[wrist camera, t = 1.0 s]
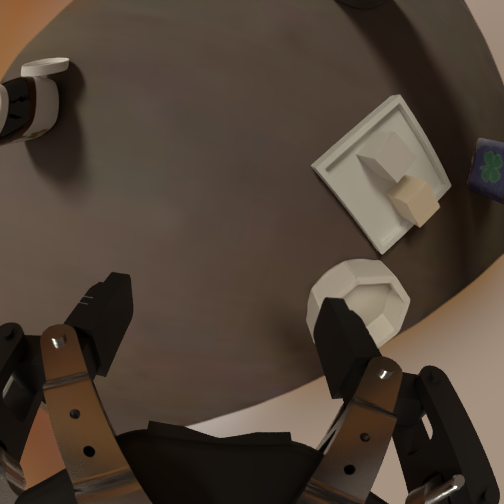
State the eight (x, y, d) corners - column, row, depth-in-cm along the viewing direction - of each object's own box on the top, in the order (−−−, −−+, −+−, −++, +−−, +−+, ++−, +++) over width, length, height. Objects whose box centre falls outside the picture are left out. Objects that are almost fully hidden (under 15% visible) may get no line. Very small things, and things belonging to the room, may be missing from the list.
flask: (475, 135, 29) (524, 145, 19) (484, 141, 29) (531, 153, 20) (464, 187, 33) (511, 208, 23) (474, 192, 33) (519, 213, 23)
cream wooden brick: (405, 174, 31) (427, 181, 26) (418, 196, 32) (440, 207, 27) (385, 193, 32) (406, 203, 27) (399, 215, 33) (419, 227, 28)
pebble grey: (373, 130, 28) (394, 132, 24) (394, 152, 30) (416, 157, 25) (355, 154, 30) (374, 158, 25) (377, 175, 31) (397, 183, 26)
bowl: (363, 238, 35) (381, 255, 30) (403, 295, 40) (419, 314, 35) (287, 302, 39) (294, 326, 34) (338, 347, 43) (348, 369, 38)
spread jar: (21, 146, 27) (-34, 160, 16) (18, 79, 22) (-34, 77, 11) (80, 120, 27) (23, 123, 16) (78, 46, 22) (26, 26, 11)
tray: (391, 95, 27) (399, 94, 25) (442, 182, 32) (451, 185, 30) (310, 165, 31) (315, 168, 29) (375, 248, 36) (382, 254, 34)
